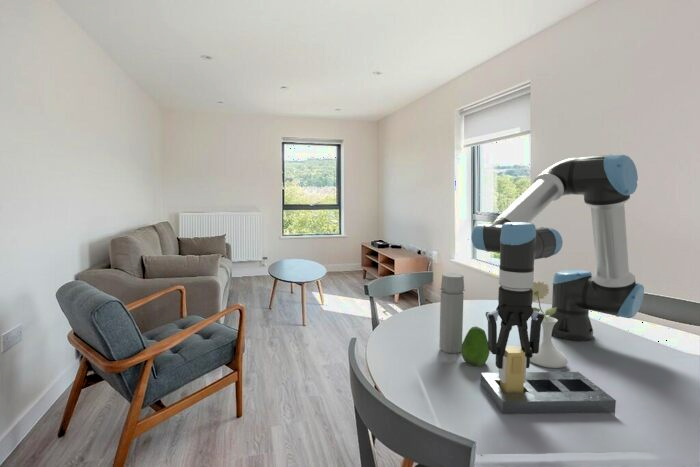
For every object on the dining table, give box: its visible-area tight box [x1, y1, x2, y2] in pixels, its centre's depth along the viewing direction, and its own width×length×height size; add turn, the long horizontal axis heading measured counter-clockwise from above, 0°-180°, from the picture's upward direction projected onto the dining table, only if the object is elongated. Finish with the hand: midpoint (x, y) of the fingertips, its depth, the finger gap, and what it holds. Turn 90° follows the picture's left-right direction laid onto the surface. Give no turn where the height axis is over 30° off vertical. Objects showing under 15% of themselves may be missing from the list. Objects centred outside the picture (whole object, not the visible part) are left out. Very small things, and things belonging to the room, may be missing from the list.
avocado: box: [460, 326, 491, 367], centre depth 113 cm, size 8×8×12 cm
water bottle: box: [439, 272, 466, 355], centre depth 125 cm, size 9×8×25 cm
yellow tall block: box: [500, 345, 525, 392], centre depth 93 cm, size 4×5×12 cm
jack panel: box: [480, 371, 617, 417], centre depth 94 cm, size 26×14×4 cm, turn 91°
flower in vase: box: [530, 281, 569, 369], centre depth 114 cm, size 13×11×25 cm
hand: (511, 380), depth 94 cm, fingers closed on yellow tall block, 4 cm apart
